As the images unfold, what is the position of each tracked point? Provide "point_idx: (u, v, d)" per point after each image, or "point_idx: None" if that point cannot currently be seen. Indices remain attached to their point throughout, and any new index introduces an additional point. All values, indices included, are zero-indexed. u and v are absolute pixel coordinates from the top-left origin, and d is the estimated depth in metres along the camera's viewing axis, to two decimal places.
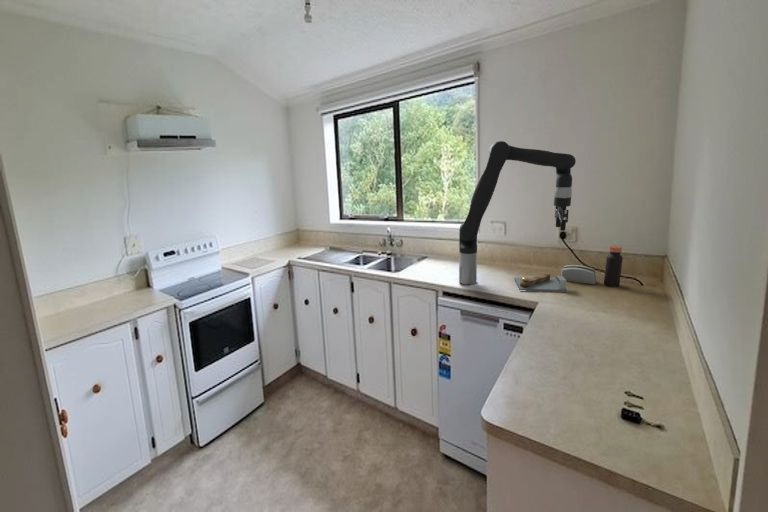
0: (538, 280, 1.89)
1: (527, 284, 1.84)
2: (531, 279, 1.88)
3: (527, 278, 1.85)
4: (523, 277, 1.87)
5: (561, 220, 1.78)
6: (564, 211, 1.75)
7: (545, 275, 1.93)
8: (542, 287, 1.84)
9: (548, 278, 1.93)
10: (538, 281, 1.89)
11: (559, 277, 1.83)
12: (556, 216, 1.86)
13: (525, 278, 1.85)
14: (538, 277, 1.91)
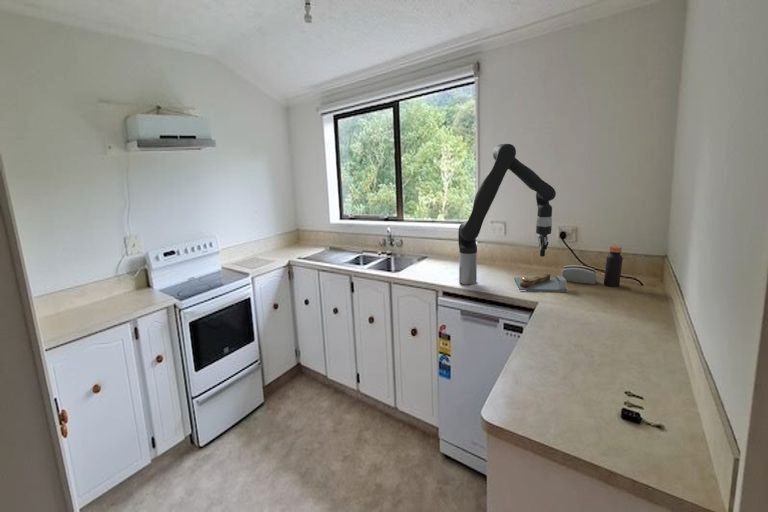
0: (538, 280, 1.89)
1: (527, 284, 1.84)
2: (531, 279, 1.88)
3: (527, 278, 1.85)
4: (523, 277, 1.87)
5: (541, 248, 1.96)
6: (544, 243, 1.91)
7: (545, 275, 1.93)
8: (542, 287, 1.84)
9: (548, 278, 1.93)
10: (538, 281, 1.89)
11: (559, 277, 1.83)
12: (539, 244, 1.98)
13: (525, 278, 1.85)
14: (538, 277, 1.91)
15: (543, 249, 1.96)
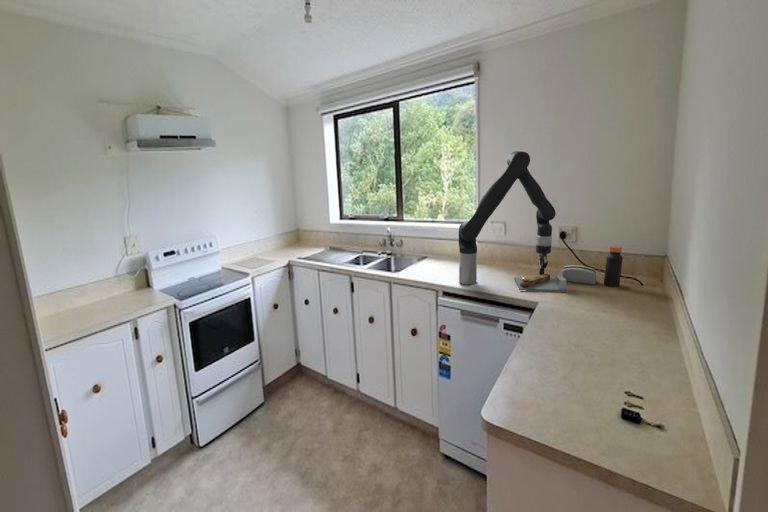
0: (538, 280, 1.89)
1: (527, 284, 1.84)
2: (531, 279, 1.88)
3: (527, 278, 1.85)
4: (523, 277, 1.87)
5: (540, 267, 1.97)
6: (544, 263, 1.92)
7: (545, 275, 1.93)
8: (542, 287, 1.84)
9: (548, 278, 1.93)
10: (538, 281, 1.89)
11: (559, 277, 1.83)
12: (539, 263, 1.98)
13: (525, 278, 1.85)
14: (538, 277, 1.91)
15: (543, 268, 1.96)
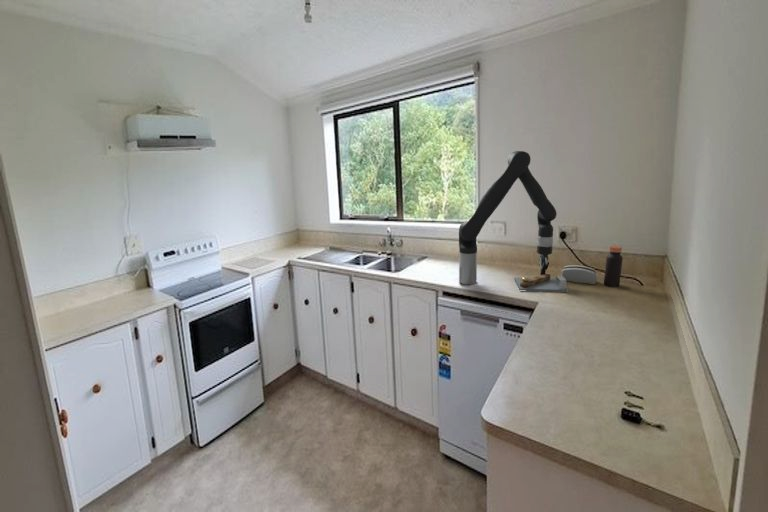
0: (538, 280, 1.89)
1: (527, 284, 1.84)
2: (531, 279, 1.88)
3: (527, 278, 1.85)
4: (523, 277, 1.87)
5: (541, 268, 1.95)
6: (545, 264, 1.90)
7: (545, 275, 1.93)
8: (542, 287, 1.84)
9: (548, 278, 1.93)
10: (538, 281, 1.89)
11: (559, 277, 1.83)
12: None
13: (525, 278, 1.85)
14: (538, 277, 1.91)
15: (544, 269, 1.94)
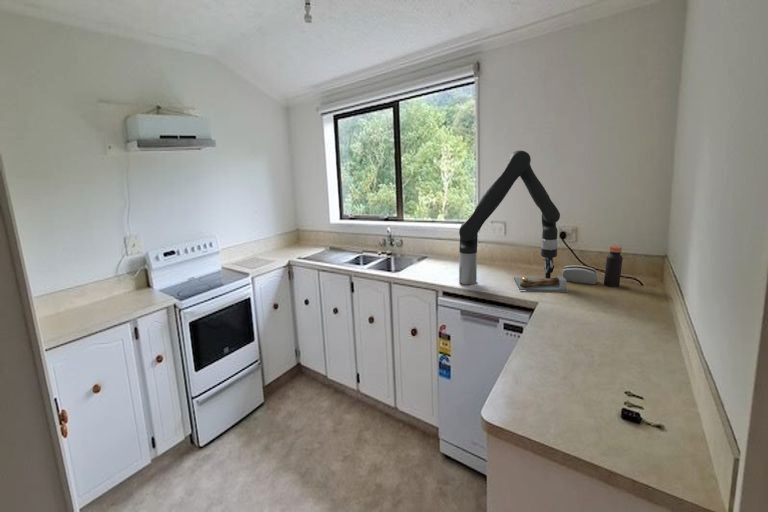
0: (542, 282, 1.86)
1: (525, 284, 1.84)
2: (533, 280, 1.86)
3: (527, 278, 1.85)
4: (523, 277, 1.87)
5: (546, 271, 1.88)
6: (550, 267, 1.83)
7: (554, 279, 1.87)
8: (542, 287, 1.84)
9: (556, 282, 1.87)
10: (542, 284, 1.86)
11: (559, 277, 1.83)
12: (545, 267, 1.90)
13: (525, 278, 1.85)
14: (543, 279, 1.87)
15: (549, 272, 1.87)
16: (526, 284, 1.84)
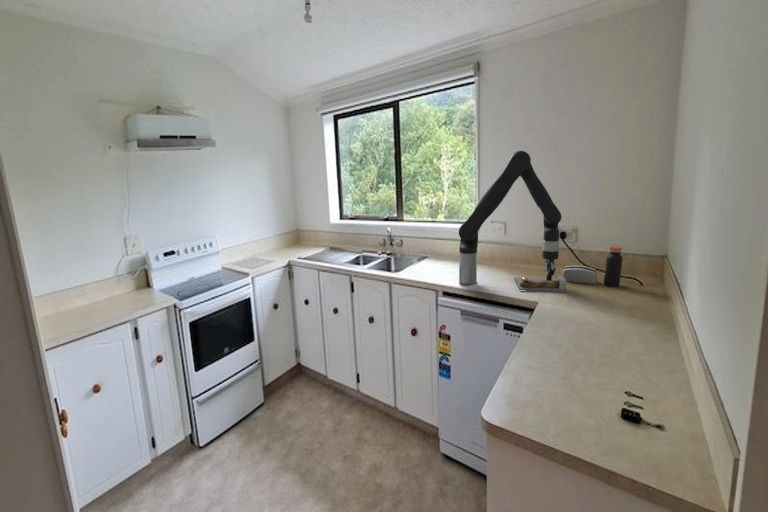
0: (543, 284, 1.83)
1: (524, 284, 1.85)
2: (534, 281, 1.85)
3: (527, 278, 1.85)
4: (523, 277, 1.87)
5: (547, 274, 1.85)
6: (551, 269, 1.79)
7: (557, 281, 1.83)
8: (542, 287, 1.84)
9: None
10: (542, 285, 1.84)
11: (559, 277, 1.83)
12: (546, 269, 1.86)
13: (525, 278, 1.85)
14: (546, 281, 1.84)
15: (550, 275, 1.84)
16: (525, 284, 1.84)
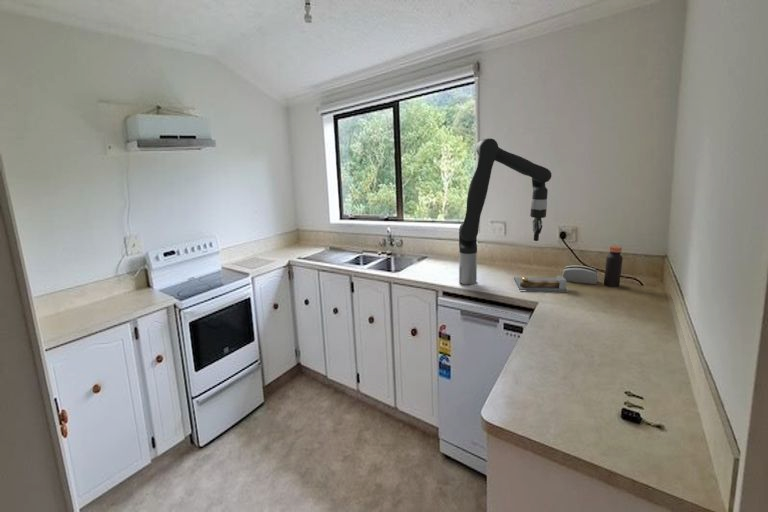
0: (543, 284, 1.83)
1: (524, 284, 1.85)
2: (534, 281, 1.85)
3: (527, 278, 1.85)
4: (523, 277, 1.87)
5: (535, 232, 1.91)
6: (538, 227, 1.86)
7: (557, 281, 1.83)
8: (542, 287, 1.84)
9: None
10: (542, 285, 1.84)
11: (559, 277, 1.83)
12: None
13: (525, 278, 1.85)
14: (546, 281, 1.84)
15: (537, 233, 1.90)
16: (525, 284, 1.84)
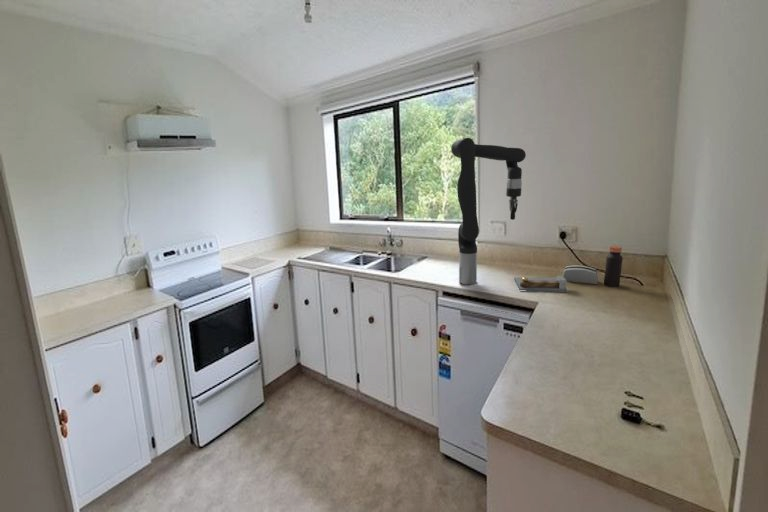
0: (543, 284, 1.83)
1: (524, 284, 1.85)
2: (534, 281, 1.85)
3: (527, 278, 1.85)
4: (523, 277, 1.87)
5: (511, 211, 1.98)
6: (513, 205, 1.93)
7: (557, 281, 1.83)
8: (542, 287, 1.84)
9: None
10: (542, 285, 1.84)
11: (559, 277, 1.83)
12: (510, 207, 1.99)
13: (525, 278, 1.85)
14: (546, 281, 1.84)
15: (513, 212, 1.97)
16: (525, 284, 1.84)
